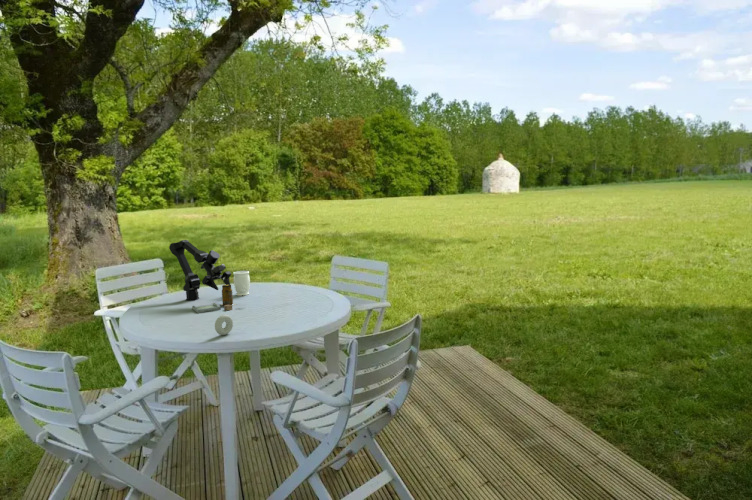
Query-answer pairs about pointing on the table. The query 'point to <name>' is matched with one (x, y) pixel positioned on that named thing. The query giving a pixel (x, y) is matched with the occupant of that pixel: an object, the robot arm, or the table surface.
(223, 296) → the condiment
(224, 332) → the donut
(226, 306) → the tan block
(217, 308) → the holder
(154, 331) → the table surface
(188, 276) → the robot arm
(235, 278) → the jar
